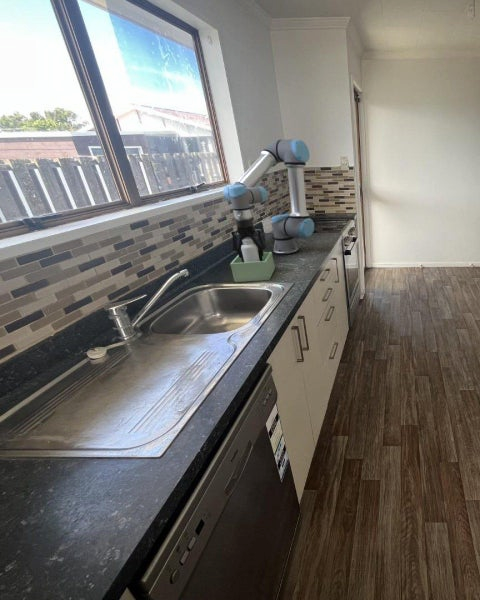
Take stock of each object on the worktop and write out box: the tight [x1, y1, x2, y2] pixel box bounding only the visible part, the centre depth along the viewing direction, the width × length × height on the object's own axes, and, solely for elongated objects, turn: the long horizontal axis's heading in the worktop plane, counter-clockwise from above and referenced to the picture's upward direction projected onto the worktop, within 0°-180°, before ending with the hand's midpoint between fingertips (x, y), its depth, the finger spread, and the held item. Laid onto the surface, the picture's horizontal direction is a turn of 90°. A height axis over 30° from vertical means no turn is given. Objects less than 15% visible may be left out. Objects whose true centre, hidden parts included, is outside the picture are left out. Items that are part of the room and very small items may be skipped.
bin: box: [229, 251, 276, 283], centre depth 170 cm, size 17×17×10 cm
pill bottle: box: [241, 238, 260, 262], centre depth 167 cm, size 8×8×15 cm
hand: (253, 263), depth 169 cm, fingers closed on pill bottle, 8 cm apart
